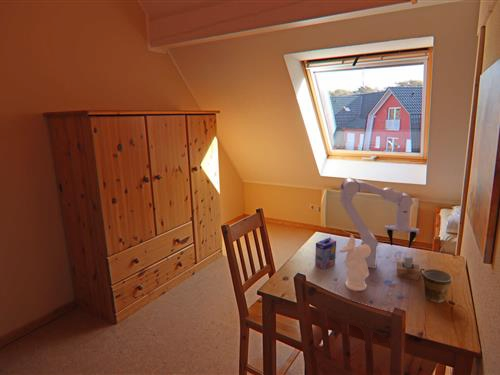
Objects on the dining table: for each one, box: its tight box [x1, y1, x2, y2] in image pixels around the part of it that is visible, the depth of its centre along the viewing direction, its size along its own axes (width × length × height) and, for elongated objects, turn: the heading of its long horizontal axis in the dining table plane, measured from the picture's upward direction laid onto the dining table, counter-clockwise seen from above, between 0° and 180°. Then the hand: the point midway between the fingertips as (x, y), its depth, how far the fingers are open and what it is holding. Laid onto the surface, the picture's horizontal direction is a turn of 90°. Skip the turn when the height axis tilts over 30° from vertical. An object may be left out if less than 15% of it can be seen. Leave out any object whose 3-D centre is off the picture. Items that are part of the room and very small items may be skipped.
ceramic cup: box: [420, 268, 453, 304], centre depth 127 cm, size 13×10×10 cm
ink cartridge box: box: [314, 237, 337, 270], centre depth 155 cm, size 10×6×14 cm, turn 129°
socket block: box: [396, 259, 421, 281], centre depth 145 cm, size 9×9×4 cm
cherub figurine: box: [339, 233, 371, 292], centre depth 134 cm, size 12×12×22 cm
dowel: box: [403, 255, 414, 268], centre depth 144 cm, size 3×3×8 cm
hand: (400, 245), depth 152 cm, fingers open, 7 cm apart
